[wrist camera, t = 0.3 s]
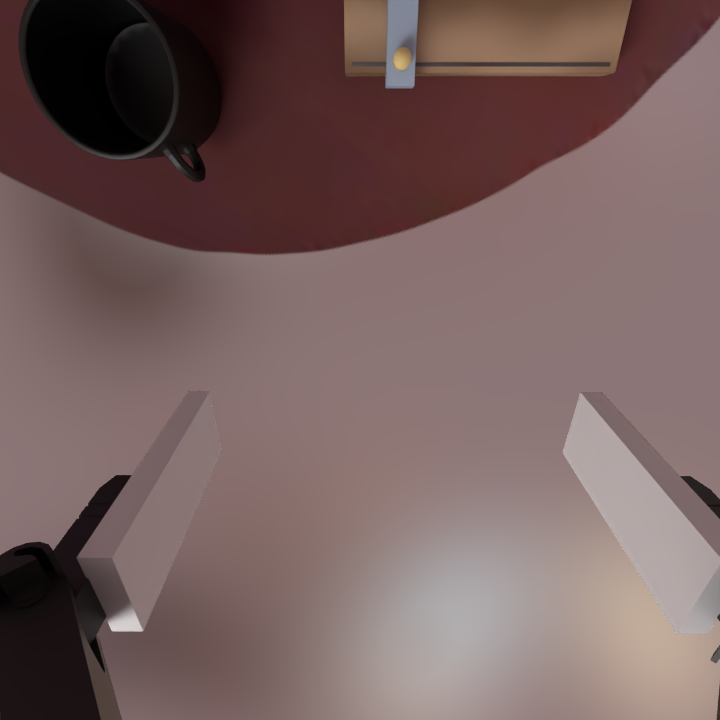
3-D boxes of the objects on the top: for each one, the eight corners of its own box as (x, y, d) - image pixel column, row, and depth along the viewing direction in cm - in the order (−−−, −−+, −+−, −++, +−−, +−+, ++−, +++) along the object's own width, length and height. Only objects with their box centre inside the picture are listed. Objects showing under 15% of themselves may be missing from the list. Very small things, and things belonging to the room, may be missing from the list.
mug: (177, 204, 37) (127, 222, 30) (74, 61, 33) (-19, 37, 25) (264, 146, 35) (235, 149, 27) (167, -16, 30) (98, -71, 22)
